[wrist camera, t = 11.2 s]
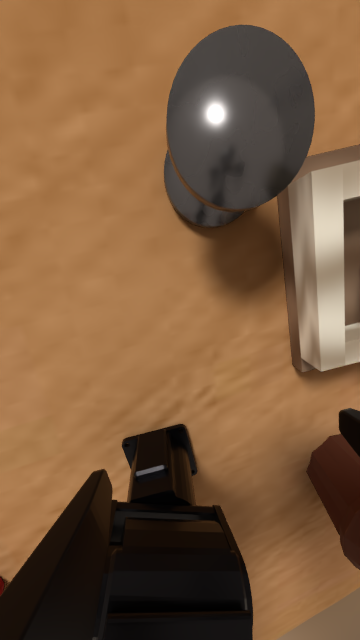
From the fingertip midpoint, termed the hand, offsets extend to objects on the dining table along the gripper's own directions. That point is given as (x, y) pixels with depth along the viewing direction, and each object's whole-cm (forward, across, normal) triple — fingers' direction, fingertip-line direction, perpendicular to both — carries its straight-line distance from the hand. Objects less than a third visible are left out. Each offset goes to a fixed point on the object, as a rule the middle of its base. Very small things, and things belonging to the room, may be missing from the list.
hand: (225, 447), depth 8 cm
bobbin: (+12, -4, -12) cm, 18 cm away
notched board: (+12, -16, -4) cm, 20 cm away
